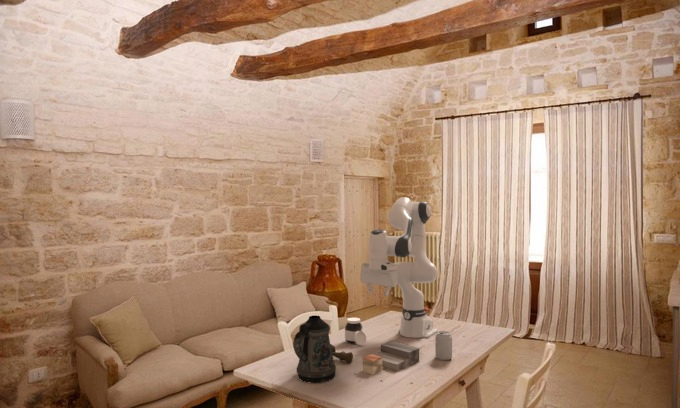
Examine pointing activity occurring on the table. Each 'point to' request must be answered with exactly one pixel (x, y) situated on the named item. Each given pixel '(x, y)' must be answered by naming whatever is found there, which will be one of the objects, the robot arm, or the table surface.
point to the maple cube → (372, 364)
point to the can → (443, 345)
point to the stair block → (398, 355)
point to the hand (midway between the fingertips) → (378, 294)
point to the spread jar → (354, 332)
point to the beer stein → (314, 351)
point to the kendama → (342, 355)
